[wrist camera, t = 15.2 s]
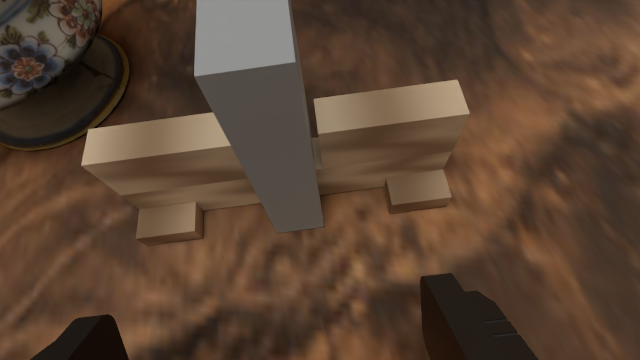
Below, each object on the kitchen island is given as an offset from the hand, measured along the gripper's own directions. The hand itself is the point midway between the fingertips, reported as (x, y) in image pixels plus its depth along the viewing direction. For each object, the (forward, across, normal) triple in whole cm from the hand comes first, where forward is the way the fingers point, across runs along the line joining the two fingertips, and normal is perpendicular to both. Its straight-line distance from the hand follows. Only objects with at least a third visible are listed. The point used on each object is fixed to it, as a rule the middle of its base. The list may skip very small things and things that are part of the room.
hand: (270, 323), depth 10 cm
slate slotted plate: (+12, 0, 0) cm, 12 cm away
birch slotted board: (+12, 0, 0) cm, 12 cm away
